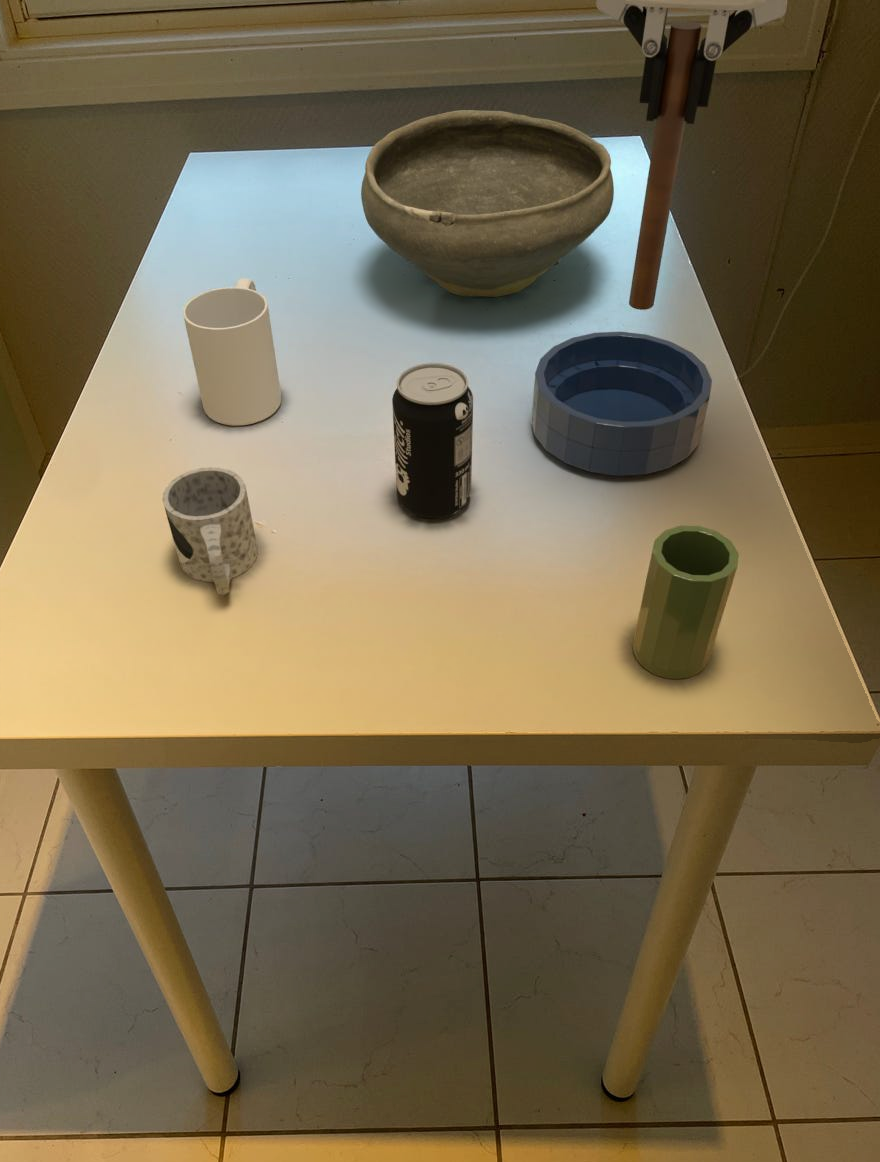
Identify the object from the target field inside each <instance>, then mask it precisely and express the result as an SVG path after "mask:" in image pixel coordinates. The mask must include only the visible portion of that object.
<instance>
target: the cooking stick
mask: <svg viewBox="0 0 880 1162" xmlns="http://www.w3.org/2000/svg"><path fill="white" fill-rule="evenodd" d="M702 27H703V26H702V24H701V23H699V22H697V21H693V20H692V21H691V20H680V21H675V22H673V23H671V25H670V29H669V34H668V35H669V36H668V41H667V60H666V66H665V73H664V79H663V86H662V92H661V99H660V105H659V112H658V117H657V119H656V122H655V126H654V127H655V129H654V135H653V136H654V137H653V140H652V141H653V142H652V148H651V153H650V161H649V168H648V174H647V180H646V187H645V193H644V194H645V195H644V200H643V207H642V212H641V213H642V214H641V219H640V220H641V221H640V227H639V234H638V239H637V246H636V253H635V260H634V266H633V273H632V278H631V286H630V292H629V299H628V305H629V306H630V307H631V308H632V309H635V310H640V311H645V310H649V309H652V308H653V307H654V305H655V299H656V294H657V289H658V288H657V287H658V281H659V276H660V270H661V264H662V259H663V254H664V253H663V252H664V246H665V241H666V236H667V230H668V223H669V218H670V212H671V206H672V200H673V196H674V195H673V194H674V188H675V185H676V184H675V183H676V177H677V172H678V165H679V159H680V154H681V149H682V142H683V138H684V137H683V136H684V131H685V125H686V121H684V117H685V111H686V106H687V100H688V94H689V88H690V82H691V76H692V71H693V65H694V60H695V57H696V56H697V50H699V46H700V45H699V44H700V37H701V34H702V33H701V32H702Z"/></svg>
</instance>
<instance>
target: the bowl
mask: <svg viewBox="0 0 880 1162" xmlns="http://www.w3.org/2000/svg"><path fill="white" fill-rule="evenodd" d="M611 166H612V158H611V154H610V153H609V151H608V150H607V149H606V147H605V146H604V145H603V144H602V143H600V142H598V141H597V140H595V139H593V138H592V137H590V136H589V135H587V134H586V133H584V132H582V131H580V130H578V129H576V128H574V127H573V126H569V125H568V124H564V123H562V122H558V121H554V120H551V119H546V118H537V117H532V116H528V115H525V114H518V113H513V112H509V111H502V110H475V109H474V110H473V109H471V110H470V109H468V110H466V109H465V110H463V109H461V110H453V111H447V112H443V113H439V114H435V115H430V116H426V117H423V118H420V119H417V120H415V121H412V122H410V123H408V124H406V125H403V126H401V127H399V128H396V129H395V130H392V131H390V132H388V133H387V135H385V136H384V137H383V138H381V139H380V140H379V141H378V142H376V143H375V144H374V145H373V147H372V148H371V150H370V151H369V152H368V155H367V158H366V161H365V164H364V170H365V172H364V175H363V178H362V182H361V189H360V190H361V191H360V198H361V205H362V209H363V210H362V211H363V214H364V217H365V220H366V222H367V224H368V226H369V227H370V229H371V230H372V231H373V232H374V234H375V235H376V236H377V237H378V239H380V240H381V241H382V242H383V243H384V244H385V245H387V247H388V248H390V249H391V250H392V251H394V252H395V253H396V254H397V255H399V256H400V257H402V258H403V259H404V260H405V261H407V262H408V263H410V264H411V265H413V266H414V267H417V268H418V269H419V270H421V271H422V272H423V273H424V274H425V275H426V276H428V277H429V278H430V279H431V280H433V281H434V282H435V283H437V284H438V285H439V286H441V287H442V288H443V289H444V290H445V291H447V292H448V293H451V294H453V295H457V296H460V297H488V298H496V297H504V296H509V295H512V294H516V293H519V292H521V291H522V290H524V289H526V288H527V287H529V286H530V285H531V284H533V282H535V281H536V280H537V279H538V278H539V277H540V276H542V275H543V274H544V273H546V272H547V271H548V270H549V269H551V268H552V267H553V266H554V265H556V264H557V263H558V262H559V261H560V260H562V259H563V258H564V257H566V256H567V255H569V254H570V253H572V251H574V250H575V249H576V248H578V246H580V245H581V244H582V243H584V242H585V241H586V240H587V239H588V238H589V237H590V236H592V234H594V232H595V231H596V230H597V229H598V228H599V227H601V225H602V224H603V223H604V222H605V221H606V219H607V218H608V217H609V215H610V213H611V210H612V206H613V204H614V195H615V188H614V186H615V185H614V177H613V173H612V172H613V171H612V169H611Z"/></svg>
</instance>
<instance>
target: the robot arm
mask: <svg viewBox="0 0 880 1162" xmlns="http://www.w3.org/2000/svg"><path fill="white" fill-rule="evenodd" d="M595 6H596V9H597V10H599V11H600V12H602V13H604V14H605V15H607V16H609V17H610V18H612V19H614V20H616V21H617V22H621V23H622V24H624V26H625V27H626V28H627V29H628V31H629V33H630V34H631V35H632V37H633V38H634V39H635V41H636V42H637V43H638V45H639V47H640V48H641V52H642V54H643V55H644V56H645V57H644V64H643V72H642V78H641V79H642V80H641V87H640V94H639V104H647V110H646V118H645V121H646V122H654V121H655V120H657V117H658V112H659V105H660V99H661V92H662V86H663V79H664V73H665V66H666V60H667V48H668V41H669V38H668V37H667V36H666V34H665V33H666V26H667V20H668V12H669V9H685V10H686V9H687V10H707V11H709V10H710V11H709V17H708V23H707V29H706V35H705V37H704V38H703V39H702V40H701V41H700V45H699V48H698V50H697V56H696V57H695V60H694V65H693V71H692V76H691V82H690V88H689V94H688V100H687V106H686V111H685V117H684V121H685V125H686V124H687V125H694V124H695V121H696V116H697V112H698V108H708V107H709V101H710V96H711V91H712V85H713V80H714V75H715V71H716V70H715V69H716V64H717V60H718V59H719V58H720V57H721V56H722V54H723V53H724V52H725V51H726V50H727V49H729V48H730V47H731V46H732V45H733V44H734V43H735V42H737V41H738V40H739V39H740V38H741V37H743V36H744V35H745V34H746V33H747V32H748V31H749V30H752V29H755V28H759V27H762V26H764V25H767V24H769V23H772V22H774V21H777V20H780V19H782V18H783V17H784V16H785V15H786V12H787V8H788V0H596V1H595ZM731 11H733V12H732V13H731Z"/></svg>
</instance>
